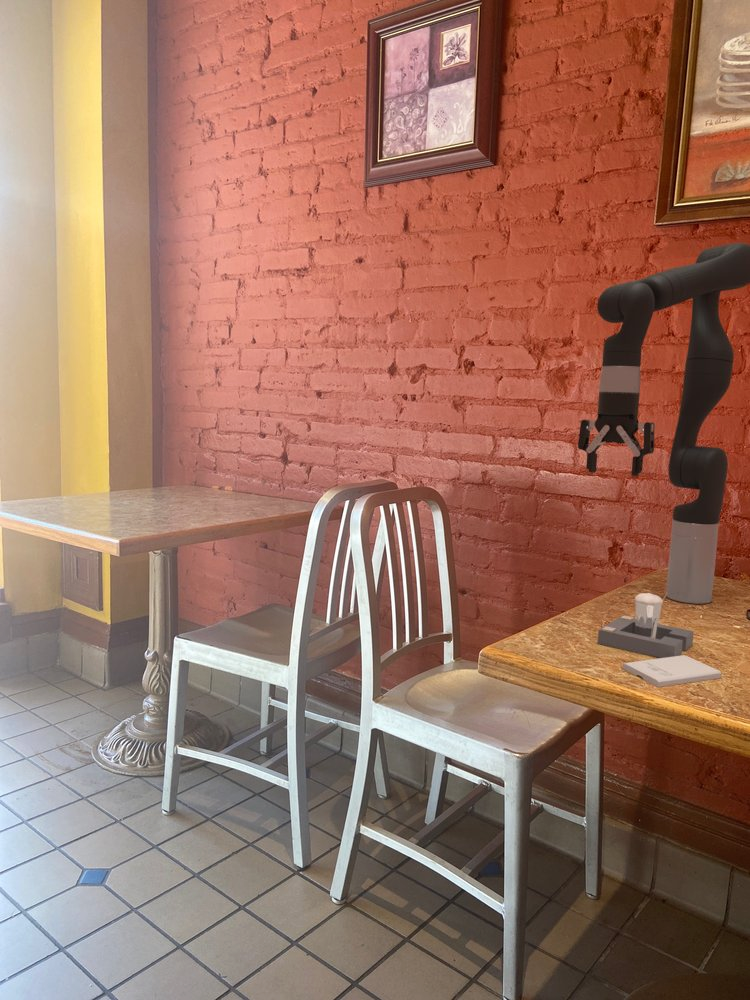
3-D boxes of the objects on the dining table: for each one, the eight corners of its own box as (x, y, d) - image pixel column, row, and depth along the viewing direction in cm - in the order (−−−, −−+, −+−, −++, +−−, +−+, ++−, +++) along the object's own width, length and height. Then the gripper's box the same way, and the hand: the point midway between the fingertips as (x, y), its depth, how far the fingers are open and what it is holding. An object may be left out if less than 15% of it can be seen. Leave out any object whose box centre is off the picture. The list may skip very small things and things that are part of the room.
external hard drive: (720, 681, 117) (657, 690, 112) (681, 663, 124) (621, 671, 120) (722, 671, 117) (658, 680, 112) (682, 654, 124) (622, 661, 120)
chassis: (619, 629, 140) (620, 614, 140) (692, 644, 132) (693, 629, 132) (597, 643, 132) (598, 628, 131) (673, 661, 124) (675, 644, 123)
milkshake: (665, 650, 129) (670, 593, 128) (633, 647, 130) (637, 591, 129) (661, 641, 133) (666, 587, 132) (630, 639, 135) (634, 584, 133)
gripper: (663, 391, 143) (656, 476, 146) (591, 390, 152) (585, 469, 154) (650, 391, 137) (643, 478, 140) (576, 389, 146) (571, 472, 148)
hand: (613, 474), depth 147 cm, fingers open, 8 cm apart
